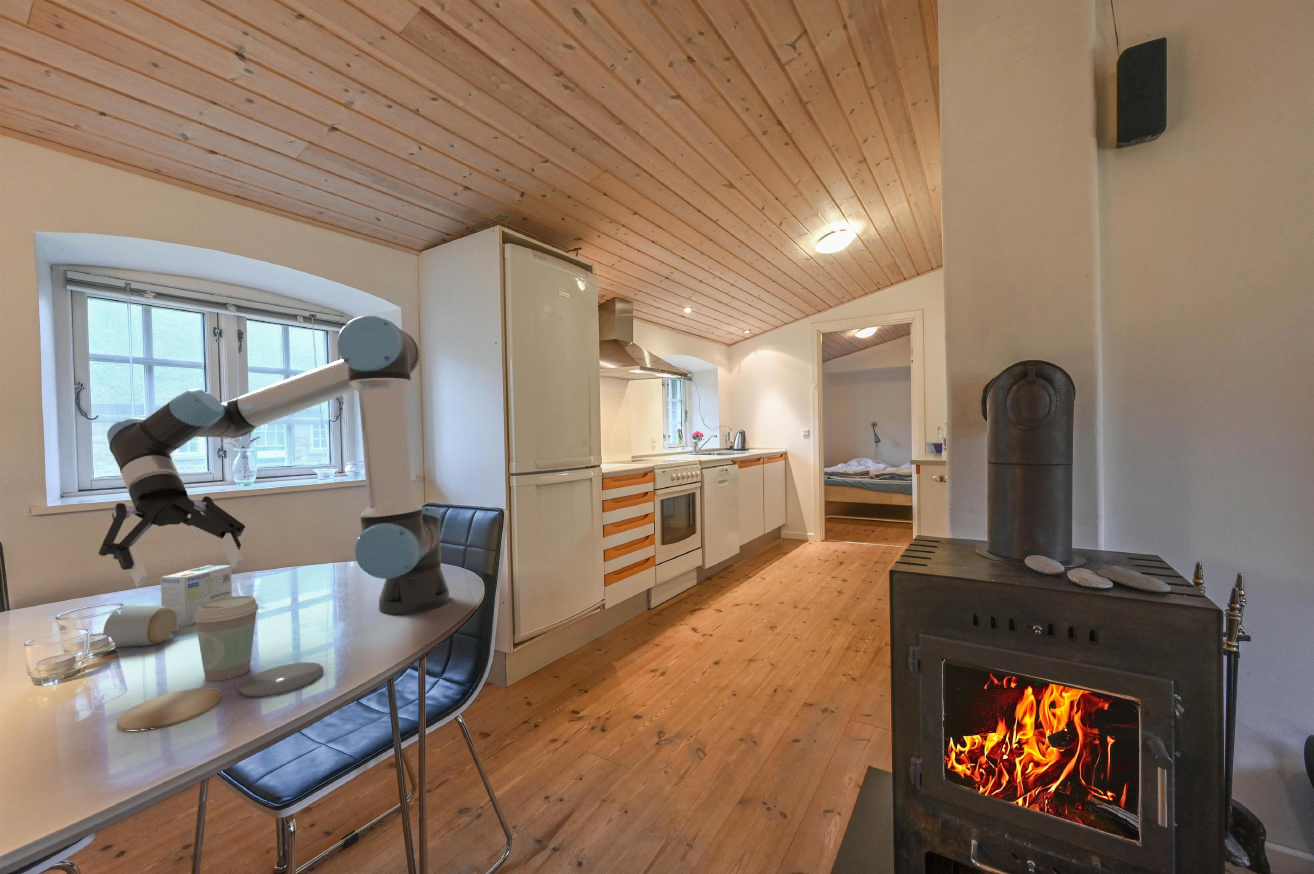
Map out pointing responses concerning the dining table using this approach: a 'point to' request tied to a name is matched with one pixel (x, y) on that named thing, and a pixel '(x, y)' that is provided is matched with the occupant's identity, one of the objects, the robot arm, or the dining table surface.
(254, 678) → the slate coaster
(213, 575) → the light bulb box
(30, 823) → the dining table surface
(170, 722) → the cork coaster
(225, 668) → the coffee cup
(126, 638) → the ceramic mug
